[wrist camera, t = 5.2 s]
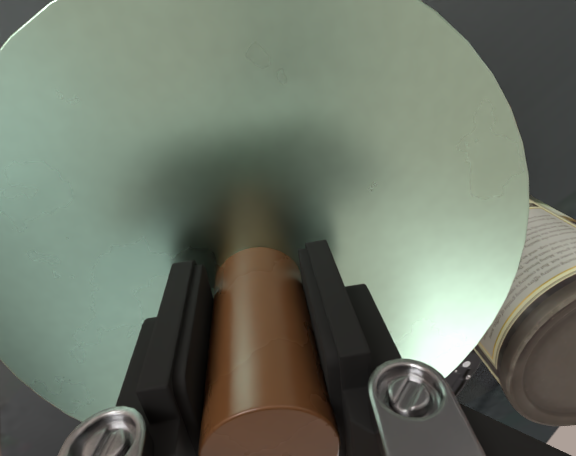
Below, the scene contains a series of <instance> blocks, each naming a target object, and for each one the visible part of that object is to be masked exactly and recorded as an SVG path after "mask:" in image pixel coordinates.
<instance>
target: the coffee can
mask: <svg viewBox="0 0 576 456" xmlns="http://www.w3.org/2000/svg"><path fill="white" fill-rule="evenodd" d="M474 351H475V352H476V353H477V355H478V356H479V357H480V358H481V360H482V361H483V362H484V364H485V365H486V366H487V368H488V369H489V370H490V372H491V373H492V374H493V376H494V377H495V378H496V380H497V381H498V382H499V384H500V385H501V386H502V389H503V391H504V393H505V395H506V397H507V399H508V400H509V401H510V403H511V404H512V406H513V407H514V408H515V409H516V411H517V412H519V413H520V414H521V415H522V416H524V417H525V418H527V419H529V420H531V421H533V422H536V423H539V424H543V425H550V426H570V425H576V220H574V219H572V218H570V217H568V216H567V215H565V214H563V213H561V212H559V211H557V210H556V209H554V208H552V207H550V206H548V205H547V204H545V203H543V202H541V201H539V200H538V199H536V198H534V197H532V196H530V195H529V217H528V225H527V233H526V241H525V245H524V249H523V252H522V256H521V260H520V264H519V268H518V271H517V273H516V276H515V278H514V281H513V283H512V286H511V288H510V291H509V293H508V295H507V298H506V300H505V301H504V303H503V305H502V307H501V309H500V310H499V312H498V314H497V316H496V318H495V319H494V321H493V323H492V324H491V326H490V327H489V328H488V330H487V331H486V333H485V334H484V335H483V337H482V338H481V340H480V341H479V342H478V344H477V345H476V346H475V348H474Z"/></svg>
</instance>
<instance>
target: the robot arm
mask: <svg viewBox="0 0 576 456" xmlns="http://www.w3.org/2000/svg"><path fill="white" fill-rule="evenodd" d="M298 255H299V263H300V271H301V279H302V285H303V290H304V294H305V298H306V302H307V306H308V311H309V315H310V319H311V323H312V328H313V332H314V336H315V340H316V344H317V349H318V353H319V357H320V361H321V366H322V370H323V374H324V378H325V382H326V387H327V391H328V395H329V399H330V404H331V406H332V409H333V411H334V415H335V419H336V423H337V427H338V431H339V436H340V441H341V443H340V451H339V455H338V456H571V455H569V454H567V453H565V452H563V451H560V450H558V449H556V448H554V447H552V446H550V445H548V444H545V443H543V442H541V441H539V440H537V439H535V438H533V437H530V436H528V435H526V434H524V433H522V432H520V431H518V430H515V429H513V428H511V427H509V426H507V425H505V424H503V423H500V422H498V421H496V420H494V419H492V418H490V417H488V416H485V415H483V414H481V413H479V412H477V411H475V410H473V409H470V408H468V407H466V406H464V405H462V404H460V403H459V402H458V400H457V399H456V397H455V395H454V393H453V391H452V389H451V387H450V385H449V383H448V382H447V381H446V379H445V378H444V377H443V375H442V374H441V373H439V372H438V371H437V370H436V369H434V368H433V367H432V366H430V365H428V364H425V363H423V362H421V361H417V360H412V359H402V357H401V355H400V353H399V351H398V349H397V347H396V345H395V343H394V341H393V339H392V337H391V335H390V333H389V331H388V329H387V326H386V324H385V322H384V320H383V318H382V316H381V314H380V312H379V310H378V308H377V306H376V304H375V302H374V300H373V298H372V295H371V293H370V291H369V289H368V287H367V286H366V285H365V284H358V285H352V286H344V283H343V281H342V278H341V276H340V273H339V271H338V268H337V265H336V263H335V260H334V258H333V255H332V253H331V250H330V248H329V245H328V243H327V241H326V240H319V241H313V242H307V243H305V248H303V249H298ZM212 309H213V296H212V292H211V288H210V284H209V280H208V276H207V272H206V268H205V266H204V264H201V265H197V263H196V261H195V260H191V261H184V262H178V263H173V264H172V266H171V269H170V273H169V276H168V280H167V283H166V287H165V290H164V294H163V297H162V301H161V304H160V307H159V311H158V314H157V317H152V318H147V319H146V320H144V322H143V324H142V327H141V330H140V333H139V336H138V339H137V342H136V345H135V348H134V351H133V354H132V357H131V360H130V363H129V366H128V369H127V372H126V375H125V378H124V381H123V385H122V388H121V391H120V394H119V397H118V400H117V403H116V406H115V407H110V408H107V409H104V410H101V411H99V412H97V413H95V414H94V415H92V416H90V417H88V418H87V419H86V420H84V421H83V422H82V423H81V424H80V425H78V426H77V427H76V428H75V429H74V430H73V432H72V433H71V434H70V435H69V436H68V437H67V439H66V440H65V442H64V444H63V446H62V448H61V450H60V452H59V454H58V456H198V449H199V439H200V429H201V419H202V409H203V399H204V389H205V379H206V369H207V359H208V349H209V339H210V329H211V319H212Z"/></svg>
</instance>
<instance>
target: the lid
mask: <svg viewBox="0 0 576 456" xmlns="http://www.w3.org/2000/svg"><path fill="white" fill-rule="evenodd" d="M528 217H529V175H528V170H527V164H526V158H525V152H524V147H523V142H522V139H521V136H520V133H519V130H518V127H517V124H516V121H515V118H514V115H513V113H512V110H511V107H510V105H509V103H508V102H507V100H506V98H505V96H504V94H503V92H502V90H501V88H500V87H499V85H498V83H497V81H496V79H495V77H494V75H493V73H492V72H491V71H490V70H489V68H488V67H487V66H486V64H485V63H484V62H483V60H482V59H481V58H480V56H479V55H478V54H477V52H476V51H475V50H474V49H473V47H472V46H471V45H470V43H469V42H468V41H467V40H466V39H465V38H464V37H463V36H462V35H461V34H460V33H459V32H458V31H457V30H456V29H455V28H453V27H452V26H451V25H450V24H449V23H448V22H447V21H446V20H445V19H444V18H443V17H442V16H441V15H440V14H439V13H438V12H437V11H435V10H434V9H432V8H431V7H429V6H428V5H426V4H425V3H423V2H422V1H421V0H53V1H51V2H49V3H48V4H47V5H46V6H44V7H43V8H42V9H41V10H40V11H39V12H37V13H36V14H35V15H34V16H33V17H31V18H30V19H29V20H28V21H27V22H26V23H24V24H23V25H22V26H21V27H20V28H19V29H17V30H16V31H15V32H14V33H13V34H11V36H10V37H9V38H8V39H7V40H6V42H5V43H4V44H3V45H2V46H1V48H0V360H1V361H2V362H3V363H4V364H5V365H6V366H7V367H8V368H9V369H10V370H11V371H12V372H13V373H14V374H15V375H16V377H17V378H19V379H20V380H21V381H22V382H23V383H25V384H26V385H27V386H28V387H29V388H31V389H32V390H33V391H34V392H36V393H37V394H38V395H39V396H40V397H42V398H43V399H45V400H46V401H48V402H49V403H51V404H52V405H54V406H55V407H57V408H58V409H60V410H61V411H63V412H64V413H66V414H68V415H69V416H71V417H73V418H75V419H77V420H79V421H81V422H83V421H84V420H86V419H87V418H88V417H90V416H92V415H94V414H95V413H97V412H99V411H101V410H104V409H107V408H110V407H115V406H116V403H117V400H118V397H119V394H120V391H121V388H122V385H123V381H124V378H125V375H126V372H127V369H128V366H129V363H130V360H131V357H132V354H133V351H134V348H135V345H136V342H137V339H138V336H139V333H140V330H141V327H142V324H143V322H144V320H146V319H147V318H152V317H157V314H158V311H159V307H160V304H161V301H162V297H163V294H164V290H165V287H166V283H167V280H168V276H169V273H170V269H171V266H172V264H173V263H178V262H184V261H191V260H195V261H196V263H197V265H201V264H204V266H205V268H206V272H207V276H208V280H209V284H210V288H211V292H212V296H213V309H212V319H211V329H210V339H209V349H208V359H207V369H206V379H205V389H204V399H203V409H202V419H201V429H200V439H199V449H198V456H338V455H339V451H340V443H341V441H340V436H339V431H338V427H337V423H336V419H335V415H334V411H333V409H332V406H331V404H330V399H329V395H328V391H327V387H326V382H325V378H324V374H323V370H322V366H321V361H320V357H319V353H318V349H317V344H316V340H315V336H314V332H313V328H312V323H311V319H310V315H309V311H308V306H307V302H306V298H305V294H304V290H303V285H302V279H301V271H300V263H299V255H298V249H303V248H305V243H307V242H313V241H319V240H326V241H327V243H328V245H329V248H330V250H331V253H332V255H333V258H334V260H335V263H336V265H337V268H338V271H339V273H340V276H341V278H342V281H343V283H344V286H352V285H358V284H365V285H366V286H367V287H368V289H369V291H370V293H371V295H372V298H373V300H374V302H375V304H376V306H377V308H378V310H379V312H380V314H381V316H382V318H383V320H384V322H385V324H386V326H387V329H388V331H389V333H390V335H391V337H392V339H393V341H394V343H395V345H396V347H397V349H398V351H399V353H400V355H401V357H402V359H412V360H417V361H421V362H423V363H425V364H428V365H430V366H432V367H433V368H434V369H436V370H437V371H438V372H439V373H441V374H442V375H443V377H444V378H446V377H447V376H448V375H449V374H450V373H451V372H452V371H453V370H454V369H456V368H457V367H458V366H459V364H460V363H461V362H462V361H463V360H464V359H465V358H466V357H467V355H468V354H469V353H470V352H471V351H472V350H473V349H474V348H475V346H476V345H477V344H478V342H479V341H480V340H481V338H482V337H483V335H484V334H485V333H486V331H487V330H488V328H489V327H490V326H491V324H492V323H493V321H494V319H495V318H496V316H497V314H498V312H499V310H500V309H501V307H502V305H503V303H504V301H505V300H506V298H507V295H508V293H509V291H510V288H511V286H512V283H513V281H514V278H515V276H516V273H517V271H518V268H519V264H520V260H521V256H522V252H523V249H524V245H525V241H526V233H527V225H528Z"/></svg>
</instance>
